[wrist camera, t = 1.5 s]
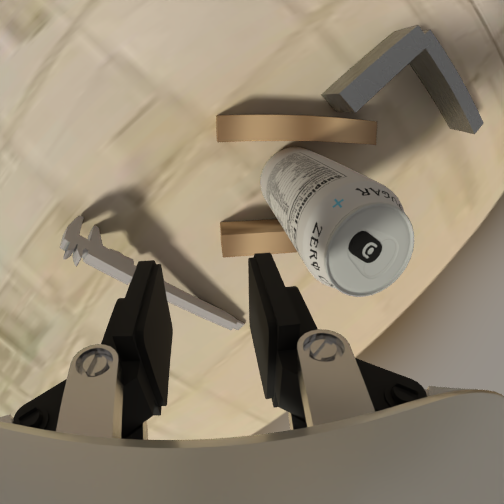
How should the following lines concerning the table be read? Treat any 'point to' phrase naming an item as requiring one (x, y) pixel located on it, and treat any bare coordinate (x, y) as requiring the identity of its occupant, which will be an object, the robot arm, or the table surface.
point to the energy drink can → (338, 221)
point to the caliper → (125, 268)
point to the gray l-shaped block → (426, 67)
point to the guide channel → (280, 129)
